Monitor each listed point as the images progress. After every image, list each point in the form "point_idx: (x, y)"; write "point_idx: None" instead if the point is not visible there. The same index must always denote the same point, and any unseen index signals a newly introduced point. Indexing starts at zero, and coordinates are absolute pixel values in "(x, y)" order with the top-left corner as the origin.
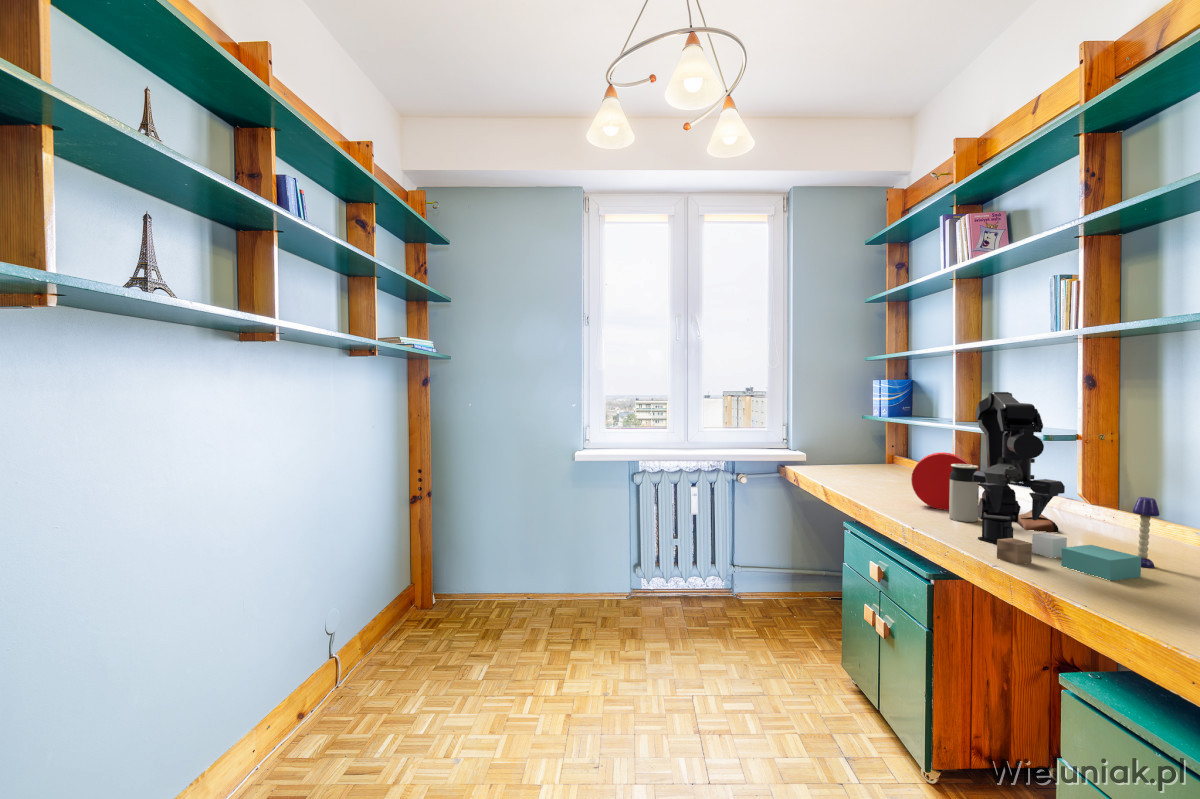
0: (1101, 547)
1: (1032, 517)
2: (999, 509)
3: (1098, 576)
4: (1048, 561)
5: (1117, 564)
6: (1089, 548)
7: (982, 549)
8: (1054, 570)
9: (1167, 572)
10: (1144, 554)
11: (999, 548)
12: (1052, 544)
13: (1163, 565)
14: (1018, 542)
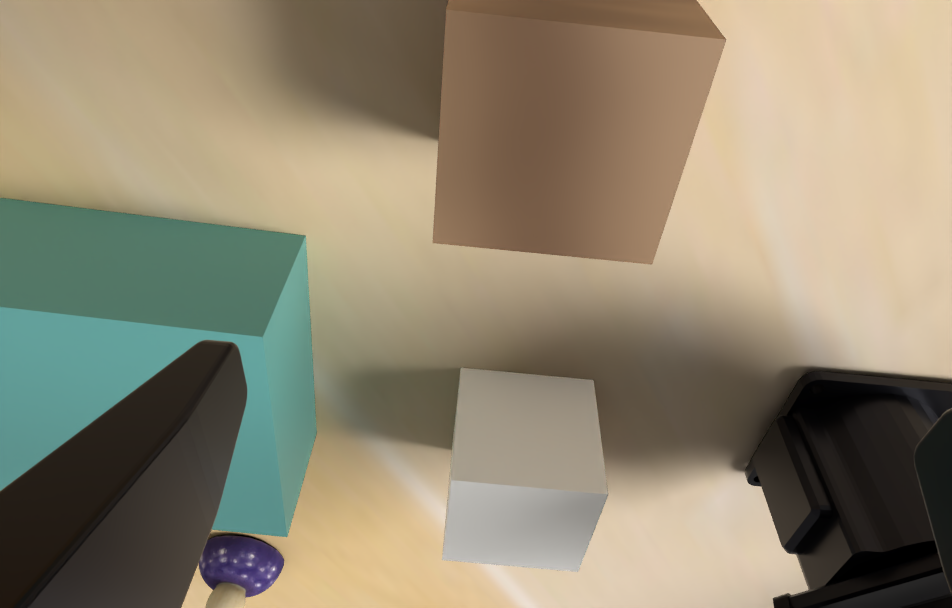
0: (221, 525)
1: (206, 367)
2: (926, 497)
3: (47, 209)
4: (426, 286)
5: None
6: None
7: (875, 160)
8: (245, 99)
9: None
10: (208, 604)
11: (668, 1)
12: (458, 445)
13: None
14: (511, 145)
